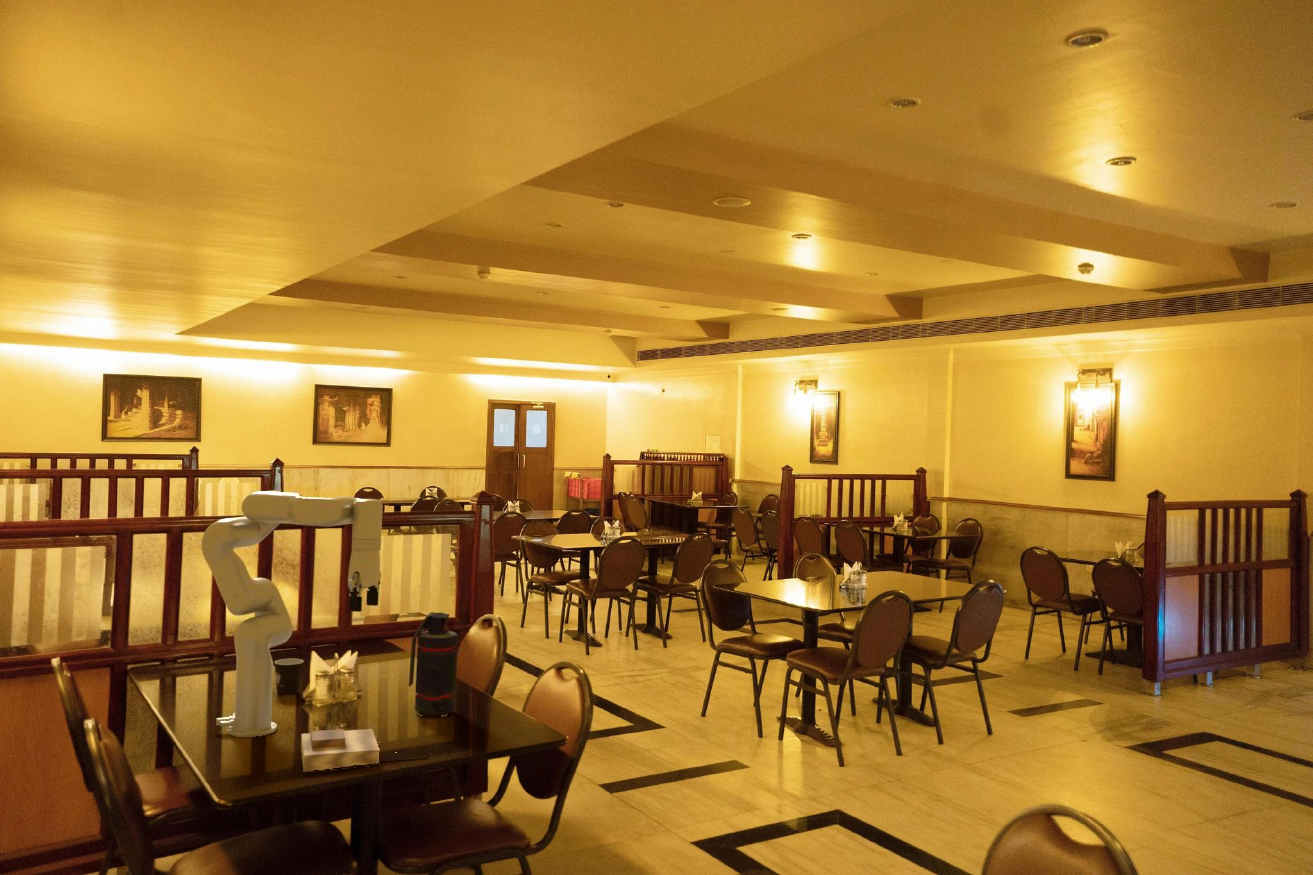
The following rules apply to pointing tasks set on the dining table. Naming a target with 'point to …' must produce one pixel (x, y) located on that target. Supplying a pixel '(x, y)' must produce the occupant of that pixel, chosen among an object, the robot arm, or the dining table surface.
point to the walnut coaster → (327, 738)
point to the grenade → (434, 666)
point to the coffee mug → (288, 676)
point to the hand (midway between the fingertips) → (363, 608)
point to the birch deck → (341, 751)
